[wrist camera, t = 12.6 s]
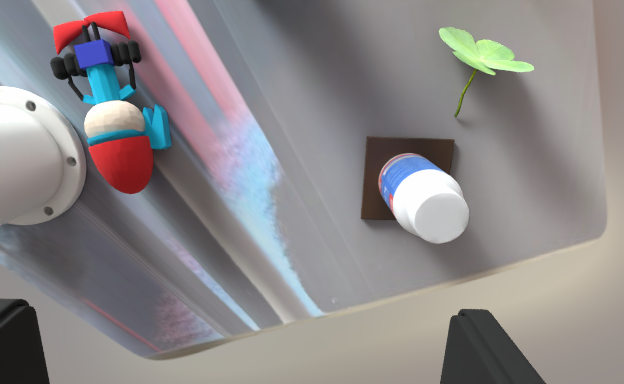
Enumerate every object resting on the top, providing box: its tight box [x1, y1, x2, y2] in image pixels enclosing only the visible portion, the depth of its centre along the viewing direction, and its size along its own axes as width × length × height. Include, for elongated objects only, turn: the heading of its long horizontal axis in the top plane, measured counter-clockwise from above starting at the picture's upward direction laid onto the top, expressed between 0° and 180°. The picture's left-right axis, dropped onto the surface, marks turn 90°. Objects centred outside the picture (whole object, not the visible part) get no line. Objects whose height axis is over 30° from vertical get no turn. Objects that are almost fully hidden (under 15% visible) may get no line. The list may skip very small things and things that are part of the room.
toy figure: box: [50, 11, 172, 194], centre depth 33 cm, size 8×5×15 cm
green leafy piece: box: [439, 27, 534, 117], centre depth 33 cm, size 7×8×6 cm
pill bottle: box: [379, 153, 469, 244], centre depth 32 cm, size 6×5×10 cm
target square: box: [361, 137, 454, 220], centre depth 37 cm, size 8×8×1 cm
